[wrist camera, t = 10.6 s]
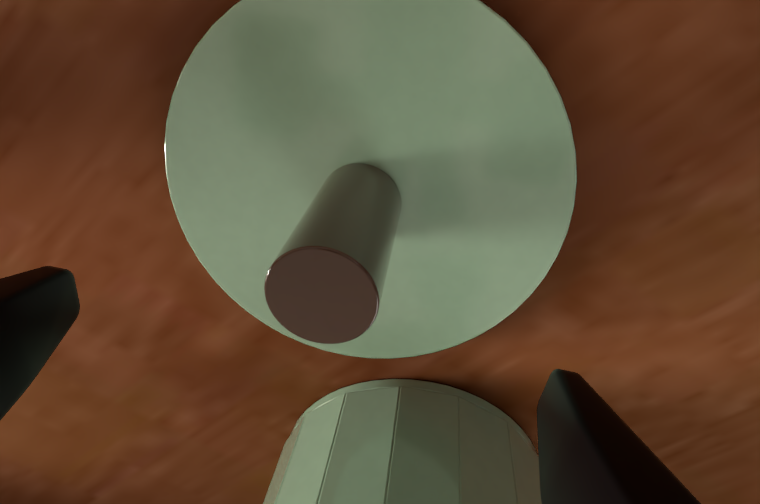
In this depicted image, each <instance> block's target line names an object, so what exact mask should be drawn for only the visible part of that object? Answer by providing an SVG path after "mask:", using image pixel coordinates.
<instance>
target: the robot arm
mask: <svg viewBox="0 0 760 504" xmlns="http://www.w3.org/2000/svg"><path fill="white" fill-rule="evenodd" d="M79 310H80V304H79V299H78V294H77V289H76V284H75V279H74V276H73V274H72V273H71V271H69V270H67V269H62V268H57V267H52V266H45V267H41V268H37V269H34V270H30V271H26V272H23V273H19V274H16V275H12V276H9V277H5V278H1V279H0V420H1V419H2V418H3V417H4V415H5V414H6V413H7V412H8V411H9V410H10V408H11V407H12V406H13V405H14V404H15V402H16V401H17V400H18V399H19V398H20V397H21V395H22V394H23V393H24V392H25V390H26V389H27V388H28V387H29V385H30V384H31V383H32V381H33V380H34V379H35V377H36V376H37V375H38V373H39V372H40V370H41V369H42V367H43V366H44V365H45V363H46V362H47V360H48V359H49V357H50V356H51V354H52V353H53V352H54V350H55V349H56V347H57V346H58V344H59V343H60V341H61V340H62V339H63V337H64V336H65V334H66V333H67V331H68V330H69V329H70V327H71V326H72V324H73V323H74V321H75V320H76V318H77V316H78V314H79ZM537 427H538V452H539V477H540V494H541V502H542V504H701V503H700V502H699V501H698V500H697V499H696V498H695V497H694V496H693V495H692V494H691V493H690V492H689V490H688V489H687V488H686V487H685V486H684V485H683V484H682V483H681V482H680V481H679V480H678V479H677V478H676V477H675V476H674V474H673V473H672V472H671V471H670V470H669V469H668V468H667V467H666V466H665V465H664V464H663V463H662V462H661V461H660V460H659V459H658V457H657V456H656V455H655V454H654V453H653V452H652V451H651V450H650V449H649V448H648V447H647V446H646V445H645V444H644V443H643V441H642V440H641V439H640V438H639V437H638V436H637V435H636V434H635V433H634V432H633V431H632V430H631V429H630V428H629V427H628V426H627V424H626V423H625V422H624V421H623V420H622V419H621V418H620V417H619V416H618V415H617V414H616V413H615V412H614V411H613V410H612V408H611V407H610V406H609V405H608V404H607V403H606V402H605V401H604V400H603V399H602V398H601V397H600V396H599V395H598V394H597V393H596V391H595V390H594V389H593V388H592V387H591V386H590V385H589V384H588V383H587V382H586V381H585V380H584V379H583V378H582V377H581V376H580V375H579V374H578V373H575V372H571V371H566V370H561V369H556V370H554V371H553V372H552V373H551V375H550V377H549V379H548V381H547V383H546V386H545V388H544V390H543V393H542V395H541V397H540V399H539V402H538V407H537Z"/></svg>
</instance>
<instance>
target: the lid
mask: <svg viewBox="0 0 760 504" xmlns="http://www.w3.org/2000/svg"><path fill="white" fill-rule="evenodd" d="M164 149H165V167H166V176H167V181H168V186H169V192H170V197H171V200H172V203H173V206H174V209H175V212H176V215H177V219H178V221H179V223H180V225H181V228H182V230H183V232H184V234H185V236H186V239H187V241H188V242H189V244H190V246H191V247H192V249H193V251H194V252H195V254H196V256H197V257H198V259H199V261H200V262H201V263H202V265H203V266H204V267H205V269H206V270H207V271H208V273H209V274H210V275H211V277H212V278H213V279H214V280H215V281H216V283H217V284H218V285H219V286H220V287H221V288H222V289H223V290H224V291H225V292H226V293H227V294H228V295H229V296H230V297H231V298H232V299H233V300H234V301H236V302H237V303H238V304H239V305H240V306H241V307H242V308H244V309H245V310H246V311H247V312H249V313H250V314H251V315H253V316H254V317H256V318H257V319H259V320H260V321H261V322H263V323H264V324H266V325H268V326H269V327H271V328H273V329H275V330H277V331H278V332H280V333H282V334H284V335H286V336H288V337H290V338H292V339H295V340H297V341H299V342H302V343H304V344H307V345H310V346H313V347H316V348H319V349H322V350H325V351H329V352H333V353H338V354H342V355H347V356H355V357H364V358H389V359H391V358H403V357H414V356H419V355H424V354H429V353H434V352H438V351H441V350H444V349H447V348H451V347H454V346H457V345H459V344H461V343H463V342H466V341H468V340H470V339H473V338H475V337H477V336H479V335H480V334H482V333H484V332H485V331H487V330H489V329H491V328H492V327H494V326H496V325H497V324H498V323H500V322H501V321H502V320H504V319H505V318H506V317H508V316H509V315H510V314H512V313H513V312H514V311H515V310H516V309H517V308H518V307H519V306H520V305H521V304H522V303H523V302H524V301H525V300H526V299H527V298H528V297H529V296H530V295H531V294H532V293H533V292H534V290H535V289H536V288H537V287H538V285H539V284H540V283H541V281H542V280H543V279H544V278H545V276H546V275H547V273H548V271H549V269H550V268H551V266H552V264H553V263H554V261H555V259H556V258H557V256H558V254H559V251H560V249H561V247H562V244H563V242H564V239H565V237H566V235H567V232H568V228H569V224H570V221H571V217H572V213H573V209H574V203H575V194H576V185H577V167H576V150H575V145H574V139H573V134H572V128H571V124H570V121H569V118H568V115H567V112H566V109H565V106H564V103H563V100H562V97H561V95H560V93H559V91H558V89H557V87H556V85H555V83H554V82H553V80H552V78H551V76H550V74H549V72H548V70H547V68H546V67H545V65H544V64H543V63H542V61H541V60H540V59H539V57H538V56H537V54H536V53H535V52H534V50H533V49H532V48H531V46H530V45H529V43H528V42H527V41H526V40H525V39H524V38H523V37H522V36H521V35H520V34H519V33H518V32H517V31H516V30H515V29H514V28H513V27H512V26H511V25H510V24H509V23H508V22H507V21H506V20H505V19H504V18H503V17H501V16H500V15H499V14H497V13H496V12H495V11H493V10H492V9H491V8H489V7H488V6H487V5H485V4H484V3H483V2H481V1H480V0H241V1H239V2H238V3H236V4H235V5H233V6H232V7H231V8H230V9H229V10H228V11H227V12H226V13H225V14H224V15H223V16H221V17H220V18H219V19H218V20H217V21H216V22H215V23H214V24H213V25H212V26H211V27H210V29H209V30H208V31H207V32H206V34H205V35H204V36H203V37H202V39H201V40H200V41H199V43H198V44H197V45H196V46H195V48H194V50H193V51H192V53H191V55H190V57H189V59H188V60H187V62H186V64H185V66H184V67H183V69H182V71H181V74H180V76H179V79H178V82H177V84H176V87H175V90H174V92H173V95H172V98H171V103H170V108H169V112H168V117H167V121H166V133H165V146H164Z"/></svg>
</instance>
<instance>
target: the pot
mask: <svg viewBox="0 0 760 504" xmlns="http://www.w3.org/2000/svg"><path fill="white" fill-rule="evenodd" d="M263 504H542V502H541V494H540V477H539V457H538V455H537V452H536V450H535V448H534V446H533V444H532V442H531V440H530V439H529V438H528V436H527V435H526V434H525V432H524V431H523V430H522V428H521V427H520V426H519V425H517V424H516V423H515V422H514V421H513V420H512V419H511V418H510V417H509V416H508V415H506V414H505V413H504V412H502V411H501V410H500V409H498V408H497V407H495V406H494V405H492V404H490V403H489V402H487V401H485V400H483V399H481V398H479V397H477V396H475V395H473V394H470V393H468V392H466V391H463V390H460V389H457V388H454V387H451V386H447V385H443V384H438V383H434V382H429V381H421V380H413V379H384V380H373V381H367V382H362V383H357V384H354V385H350V386H347V387H344V388H341V389H339V390H336V391H334V392H332V393H330V394H328V395H326V396H324V397H323V398H321V399H320V400H318V401H316V402H315V403H314V404H313V405H312V406H311V407H309V408H308V409H307V410H306V411H305V412H304V413H303V415H302V416H301V417H300V418H299V419H298V421H297V423H296V424H295V426H294V428H293V430H292V433H291V435H290V437H289V438H288V440H287V441H286V442H285V445H284V448H283V450H282V453H281V456H280V459H279V461H278V464H277V467H276V470H275V472H274V475H273V478H272V481H271V483H270V486H269V489H268V492H267V494H266V497H265V500H264V503H263Z"/></svg>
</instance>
